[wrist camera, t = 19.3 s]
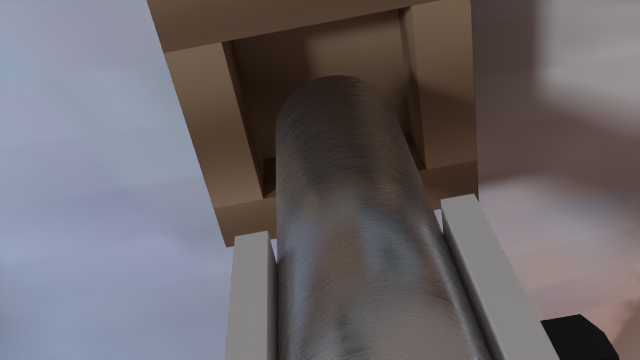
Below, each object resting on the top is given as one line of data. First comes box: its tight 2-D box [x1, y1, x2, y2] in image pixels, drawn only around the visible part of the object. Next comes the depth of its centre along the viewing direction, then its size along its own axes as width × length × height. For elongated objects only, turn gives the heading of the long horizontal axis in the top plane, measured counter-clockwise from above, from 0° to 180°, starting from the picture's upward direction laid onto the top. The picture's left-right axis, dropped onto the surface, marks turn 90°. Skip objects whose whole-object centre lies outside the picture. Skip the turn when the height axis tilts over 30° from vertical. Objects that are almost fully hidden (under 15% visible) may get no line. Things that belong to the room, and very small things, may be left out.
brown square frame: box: [147, 0, 479, 247], centre depth 23 cm, size 10×10×4 cm
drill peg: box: [276, 75, 493, 360], centre depth 13 cm, size 4×4×18 cm
